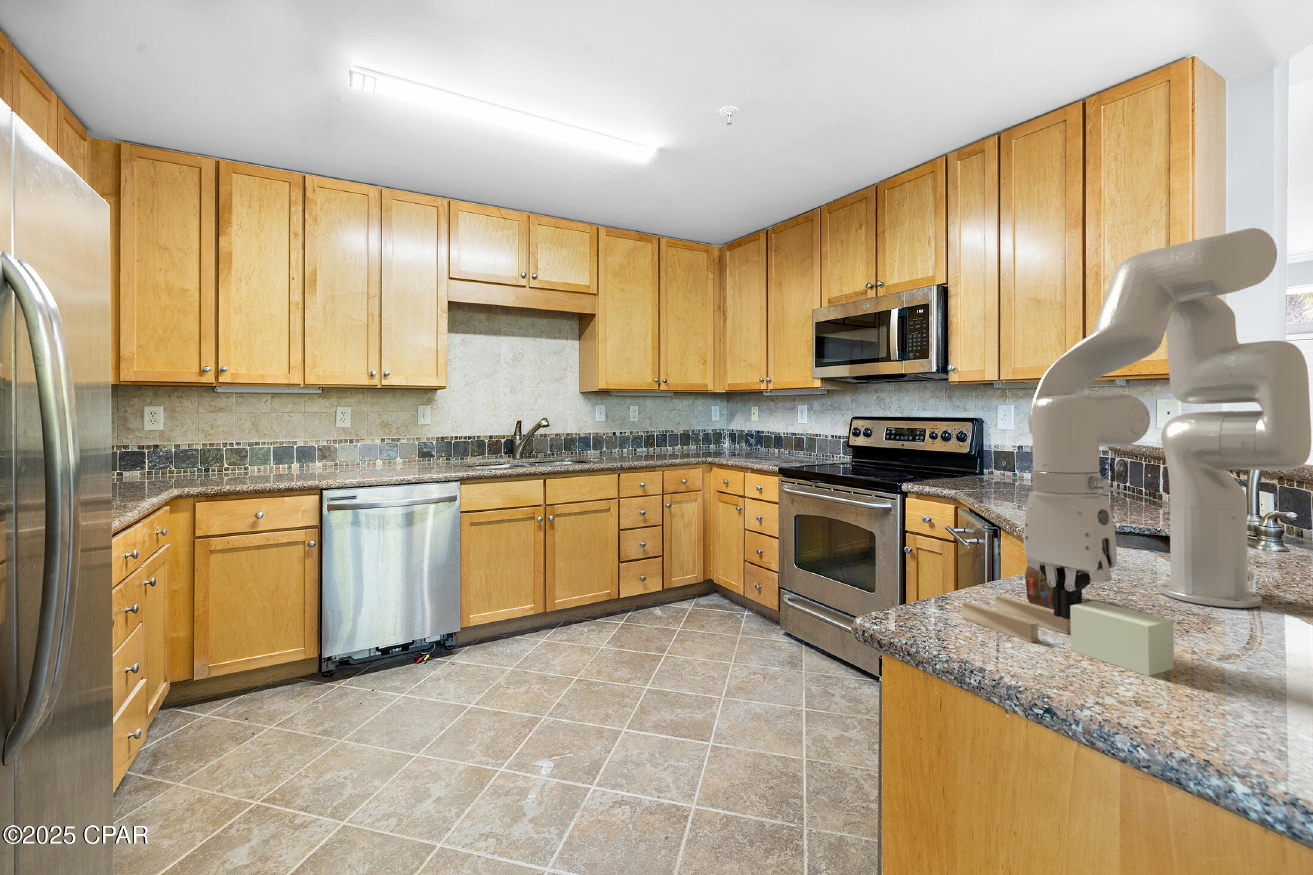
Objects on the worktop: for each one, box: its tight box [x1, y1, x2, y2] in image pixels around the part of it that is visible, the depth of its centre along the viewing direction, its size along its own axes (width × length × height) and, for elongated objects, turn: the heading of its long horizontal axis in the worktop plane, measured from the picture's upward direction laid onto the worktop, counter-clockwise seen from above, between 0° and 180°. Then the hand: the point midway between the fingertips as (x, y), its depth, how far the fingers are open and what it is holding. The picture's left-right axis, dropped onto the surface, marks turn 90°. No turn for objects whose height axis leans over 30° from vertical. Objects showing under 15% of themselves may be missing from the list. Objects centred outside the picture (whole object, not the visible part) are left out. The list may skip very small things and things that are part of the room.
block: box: [1070, 600, 1175, 677], centre depth 74 cm, size 5×9×6 cm, turn 21°
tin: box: [1024, 565, 1054, 610], centre depth 97 cm, size 15×3×8 cm, turn 125°
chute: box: [962, 595, 1071, 643], centre depth 87 cm, size 9×11×2 cm
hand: (1067, 616), depth 80 cm, fingers closed
